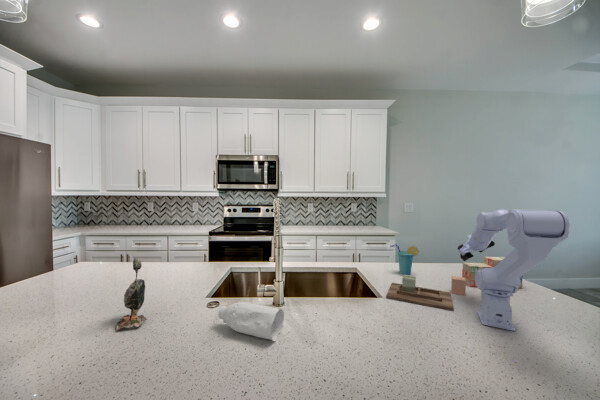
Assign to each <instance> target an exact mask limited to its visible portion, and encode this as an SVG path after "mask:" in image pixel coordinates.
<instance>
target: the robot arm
mask: <svg viewBox="0 0 600 400" xmlns="http://www.w3.org/2000/svg"><path fill="white" fill-rule="evenodd" d="M505 229H506V230H507V240H508V244H509V245H510V247H511V246H512V247H513V250H511V251H510V252H509V253H508V254H507V255H506V256H504V257H505V258H504V259H503V260H502V261H501V262H499V263H498V264H497V265H496V266H495V267H492V268H484V269H482V270H477V272H476V273H475V283H476V286H477V287H476V288H477V289H478V290H480V310H477V311H476V312H477V314H478V317H479V320H480V322H481V324H482V325H484V326H489V327H494V328H499V329H504V330H509V331H512V332H516V331H517V330H516V328H515V327H514V325H513V322H512V319H513V318H512V316H513V315H512V314H513V308H512V307H511V297H514V294H516V293H517V292H518V290H519V289H518V287H520V286H521V283H520V278H519V277H521V276H522V275H523V276H524V275H525V274H526V273H528V272H530V271H531V270H533V269H534V268H535V267H537V266H538V265H540V264H541V263H543V262H544V261H545V260H546V259H547V258H548V255H549V254H550V253H551V251H552V250H553V248H555V247H557V246H558V245H559V244H561V243H562V242H563V241H565V240H566V239H568V238H569V234H570V233H569V232H570V220H569V218H568V216H567V215H566V213H564V212H563V211H561V210H553V211H552V210H547V209H546V210H545V209H544V210H543V209H520V208H519V209H517V208H516V209H515V208H514V209H509V210H507V209H505V208H503V207H500V208H496V210H492V209H491V210H490V211H489V212H483V211H480V212H478V213H477V216H476V226H475V228H474V230H473V231H472V233H470V234H468V235H467V236H466V238H467V241H466V242H465V244H462V243H461V244H460V245H458V247H457V250H458V252H459V254H460V259H461V260H462V261H463V262H466V261H467V260H469V259H471V258H473V257H474V254H472V253H474V252H479V253H483V252H485V251H486V250H487V249H488V248H492V247H494V246H495V244H496V243H495V242H494V241H493V240H495V239H496V237H497V235H496V234H497V233H499V231H500V232H501V231H503V230H505Z"/></svg>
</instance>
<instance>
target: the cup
mask: <svg viewBox="0 0 600 400" xmlns="http://www.w3.org/2000/svg"><path fill="white" fill-rule="evenodd" d="M389 246H390V248H392V247H393V248H394V247H397V250H398V251H397V256H398V269H399V271H398V272H399V275H401V274H402V276H403V275H410V276H412V274H411V273H412V267H413V266H412V265H413V257H416V256H418V254H419V252H420V251H419V248H418V247H416V246H414V245H412V246H409V247H408V248H407V251H406V250H405V251H404V250H401V249H400V246H399V245H398V244H396V243H395V244H391V245H389Z"/></svg>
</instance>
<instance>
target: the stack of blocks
mask: <svg viewBox="0 0 600 400" xmlns="http://www.w3.org/2000/svg"><path fill="white" fill-rule="evenodd" d="M505 257H506V256H483V262H466V261H463V262H462V271H461V272H462V273H461V277H464V278H465V280H466V285H467V286H468V287H470V288H478V287H477V286H476V283H475V273H476V272H477V270H482V269H484V268H492V267H495V266H496V265H497V264H498V263H499V262H501V261H502V260H503V259H504V258H505ZM523 277H524V275H522V276H521V277H519V278H520V283H521V286H520V287H518V290H522V289H523Z"/></svg>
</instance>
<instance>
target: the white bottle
mask: <svg viewBox="0 0 600 400" xmlns="http://www.w3.org/2000/svg"><path fill="white" fill-rule="evenodd" d="M217 315H218V318H219V319H221V320H222V323H223V324H226V325H227V326H228V327H229V328H231V329H232V330H233V331H235V332H237V333H239V334H245V335H249V336H253V337H256V338H260V339H266V340H270V341H272V342H276V341H277V338H278V337H279V333H280V332H282V330H283V327H284V320H285V312H284V310H283V309H282V308H277V307H271V306H267V305H261V304H257V303H253V302H252V303H251V302H248V301H247V302H246V301H243V302H234V303H232V304H230V305H229V306H225V305H221V307H220V309H219V311H218V314H217Z"/></svg>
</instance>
